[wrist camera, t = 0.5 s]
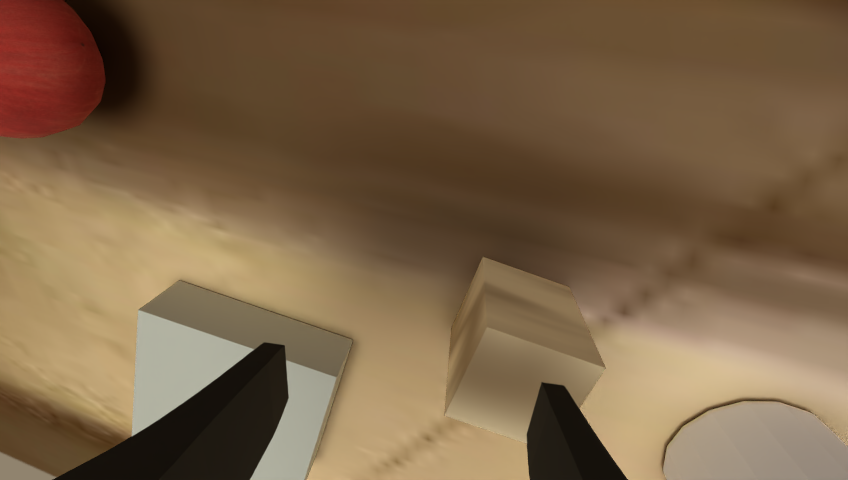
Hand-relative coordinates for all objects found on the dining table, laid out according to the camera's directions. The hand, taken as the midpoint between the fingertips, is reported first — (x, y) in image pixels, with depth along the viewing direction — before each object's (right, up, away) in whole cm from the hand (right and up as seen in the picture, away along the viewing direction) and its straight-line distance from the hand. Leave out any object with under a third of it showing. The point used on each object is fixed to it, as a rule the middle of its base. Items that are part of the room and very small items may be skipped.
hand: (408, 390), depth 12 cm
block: (+5, +1, +9) cm, 11 cm away
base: (-10, -4, +13) cm, 17 cm away
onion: (-14, +12, +7) cm, 20 cm away
